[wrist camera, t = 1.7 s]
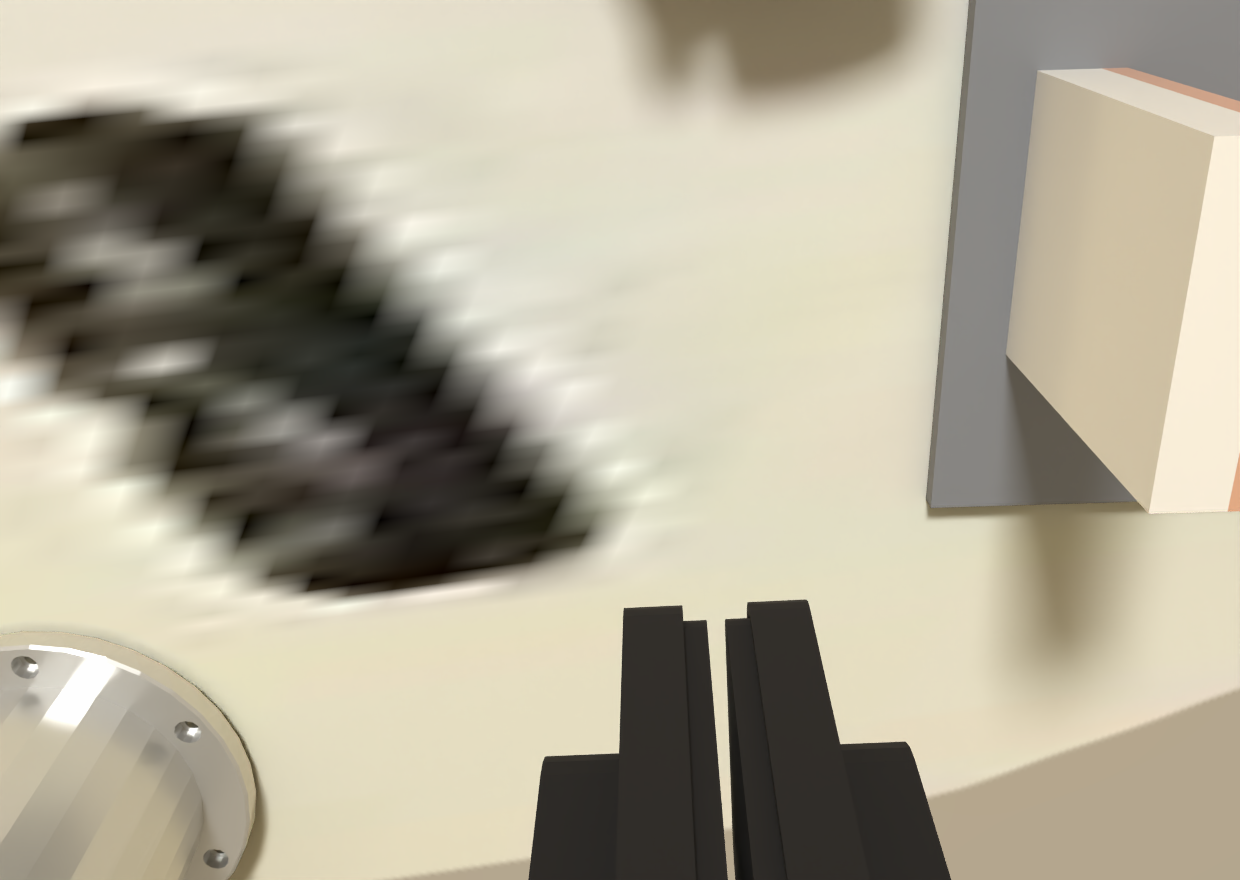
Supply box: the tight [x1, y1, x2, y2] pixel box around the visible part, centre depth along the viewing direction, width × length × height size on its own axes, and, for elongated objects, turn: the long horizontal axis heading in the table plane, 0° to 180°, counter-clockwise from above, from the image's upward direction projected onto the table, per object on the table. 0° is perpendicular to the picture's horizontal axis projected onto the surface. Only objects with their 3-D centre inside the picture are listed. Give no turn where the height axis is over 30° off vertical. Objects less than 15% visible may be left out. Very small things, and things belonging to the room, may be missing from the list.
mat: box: [926, 0, 1240, 508], centre depth 33 cm, size 18×16×1 cm
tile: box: [1006, 68, 1240, 514], centre depth 28 cm, size 8×2×10 cm, turn 2°
